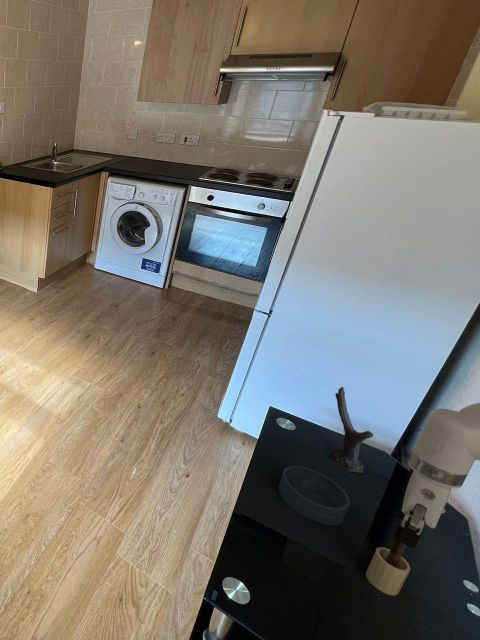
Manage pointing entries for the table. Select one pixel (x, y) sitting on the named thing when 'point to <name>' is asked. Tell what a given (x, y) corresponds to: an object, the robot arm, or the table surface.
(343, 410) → the antler
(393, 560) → the stick
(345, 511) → the bowl
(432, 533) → the table surface
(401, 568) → the cup
